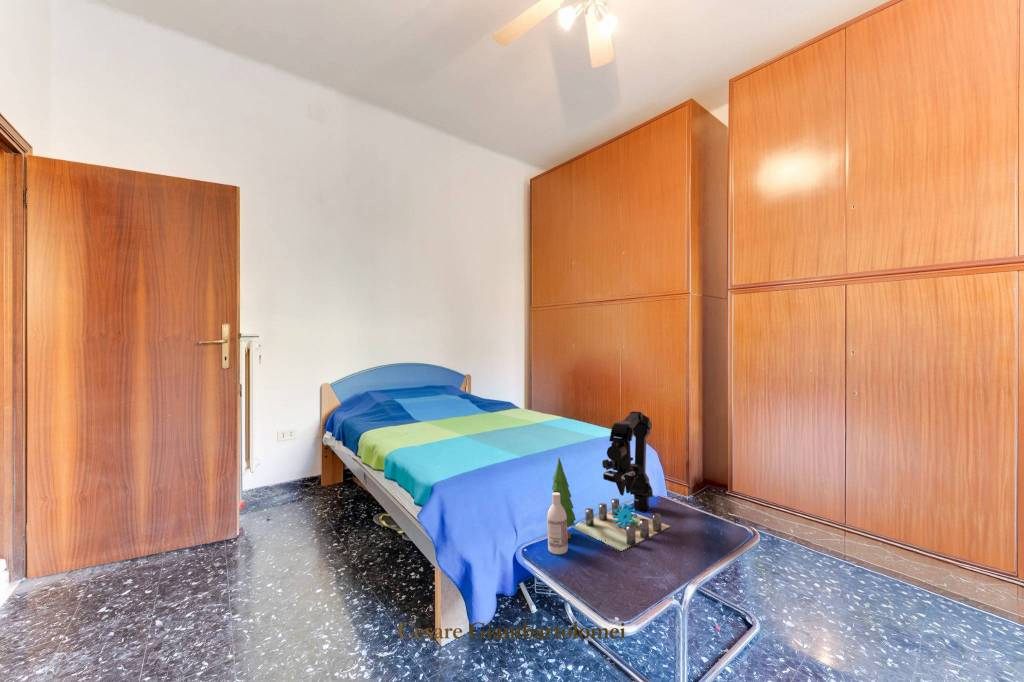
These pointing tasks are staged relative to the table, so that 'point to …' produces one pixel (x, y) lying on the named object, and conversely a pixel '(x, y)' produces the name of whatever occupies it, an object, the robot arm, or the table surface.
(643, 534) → the spacer posts
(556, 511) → the bath foam
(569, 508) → the decorative tree
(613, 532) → the board
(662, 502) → the table surface
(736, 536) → the table surface
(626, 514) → the gear
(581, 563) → the table surface
